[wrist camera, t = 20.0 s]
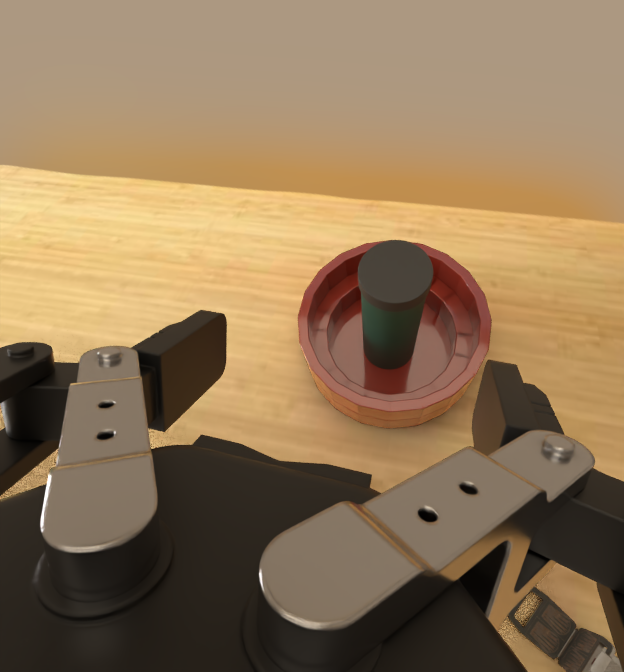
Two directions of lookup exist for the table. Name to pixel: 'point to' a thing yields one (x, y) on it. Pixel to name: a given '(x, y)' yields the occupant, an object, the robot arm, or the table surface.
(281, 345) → the table surface
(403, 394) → the bowl
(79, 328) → the table surface
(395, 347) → the tube
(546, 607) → the strap clip
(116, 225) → the table surface
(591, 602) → the table surface
